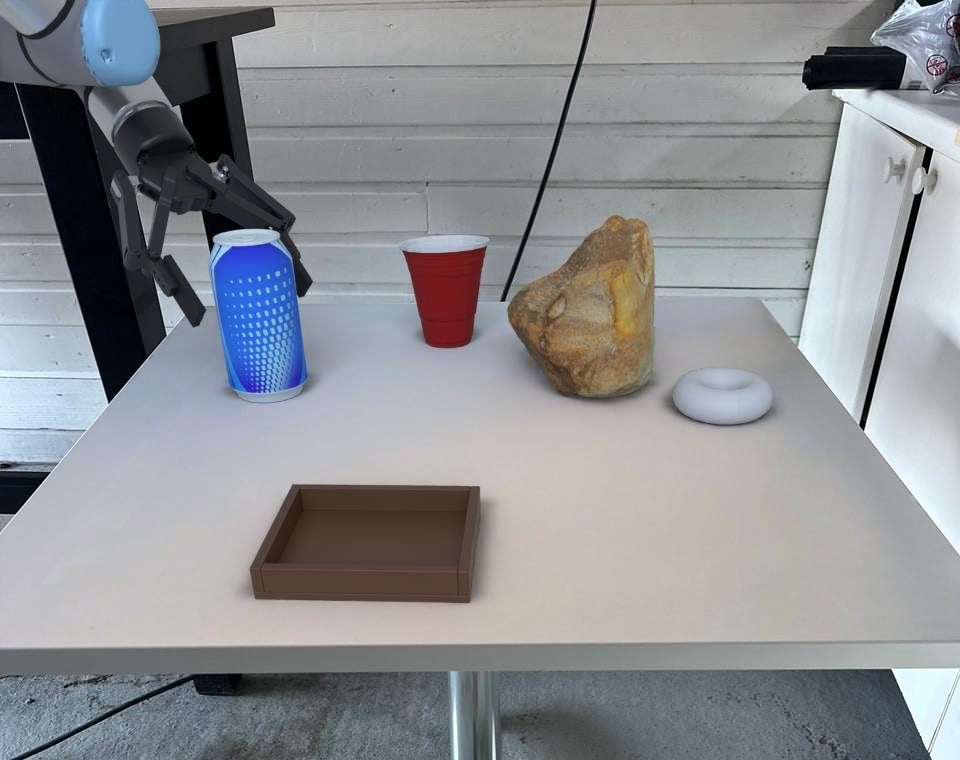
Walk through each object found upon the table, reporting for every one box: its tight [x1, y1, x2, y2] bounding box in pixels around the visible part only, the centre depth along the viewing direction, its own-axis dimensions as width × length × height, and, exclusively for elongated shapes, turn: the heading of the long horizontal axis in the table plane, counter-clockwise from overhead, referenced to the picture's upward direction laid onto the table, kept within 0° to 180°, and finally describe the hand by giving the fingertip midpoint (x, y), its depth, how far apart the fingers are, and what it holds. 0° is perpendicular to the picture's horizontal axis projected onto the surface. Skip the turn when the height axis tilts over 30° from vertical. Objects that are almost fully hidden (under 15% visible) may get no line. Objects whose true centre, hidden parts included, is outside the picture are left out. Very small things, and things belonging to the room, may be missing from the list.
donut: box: [671, 366, 774, 426], centre depth 93 cm, size 10×4×10 cm
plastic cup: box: [398, 234, 491, 349], centre depth 111 cm, size 11×11×12 cm
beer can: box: [207, 228, 308, 404], centre depth 97 cm, size 8×8×16 cm
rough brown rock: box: [506, 214, 656, 399], centre depth 101 cm, size 23×17×15 cm
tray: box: [249, 483, 482, 604], centre depth 71 cm, size 16×14×3 cm
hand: (255, 304), depth 96 cm, fingers open, 13 cm apart
